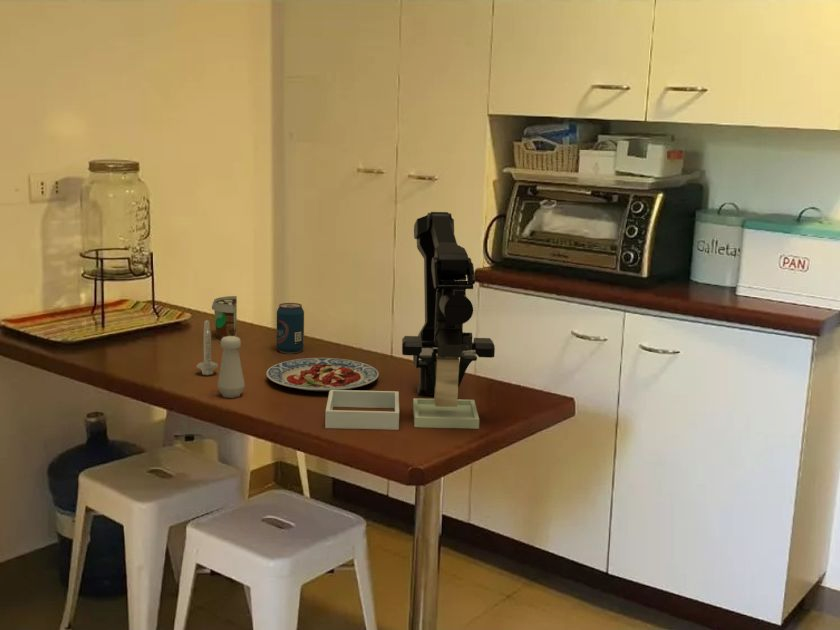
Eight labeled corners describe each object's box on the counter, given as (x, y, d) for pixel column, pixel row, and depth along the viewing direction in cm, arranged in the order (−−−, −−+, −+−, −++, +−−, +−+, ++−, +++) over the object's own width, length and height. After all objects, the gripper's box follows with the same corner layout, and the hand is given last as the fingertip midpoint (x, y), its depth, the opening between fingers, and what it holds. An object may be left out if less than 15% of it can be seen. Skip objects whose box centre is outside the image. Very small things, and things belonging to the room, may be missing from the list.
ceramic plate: (310, 360, 249) (310, 349, 249) (399, 378, 237) (399, 366, 236) (242, 384, 228) (242, 372, 227) (336, 405, 215) (337, 392, 215)
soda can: (271, 350, 257) (271, 304, 255) (293, 346, 262) (293, 301, 259) (286, 355, 253) (287, 309, 250) (309, 351, 257) (309, 305, 254)
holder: (329, 405, 214) (329, 389, 213) (398, 407, 215) (398, 391, 214) (325, 428, 200) (325, 411, 199) (398, 429, 200) (399, 413, 200)
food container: (214, 331, 275) (213, 295, 273) (236, 331, 276) (236, 295, 273) (209, 342, 263) (209, 304, 261) (233, 342, 264) (233, 305, 262)
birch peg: (434, 399, 210) (436, 353, 208) (455, 400, 210) (457, 354, 208) (435, 406, 206) (437, 359, 204) (457, 407, 206) (459, 360, 204)
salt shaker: (246, 391, 222) (246, 334, 219) (243, 399, 216) (242, 340, 213) (219, 390, 222) (219, 333, 219) (215, 398, 216) (215, 340, 213)
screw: (216, 370, 237) (219, 376, 233) (195, 371, 236) (197, 377, 231) (216, 316, 234) (218, 321, 230) (195, 317, 233) (197, 322, 228)
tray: (413, 407, 215) (413, 398, 215) (473, 408, 215) (474, 399, 215) (414, 427, 202) (414, 417, 202) (478, 428, 203) (479, 419, 202)
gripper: (403, 320, 196) (401, 397, 199) (499, 323, 197) (495, 399, 200) (403, 308, 207) (400, 381, 210) (493, 311, 207) (489, 383, 211)
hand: (446, 386), depth 207 cm, fingers closed on birch peg, 4 cm apart
